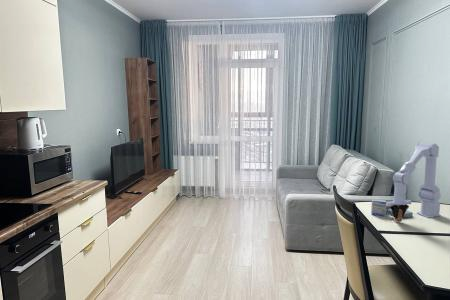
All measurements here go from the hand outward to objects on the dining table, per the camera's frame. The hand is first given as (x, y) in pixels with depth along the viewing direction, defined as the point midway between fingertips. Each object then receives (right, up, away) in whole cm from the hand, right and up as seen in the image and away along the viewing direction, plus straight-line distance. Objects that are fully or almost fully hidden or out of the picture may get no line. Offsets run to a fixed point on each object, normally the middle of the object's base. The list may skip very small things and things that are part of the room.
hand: (398, 217), depth 178 cm
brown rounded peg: (0, -2, 0) cm, 2 cm away
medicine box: (-5, -1, +14) cm, 14 cm away
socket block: (+7, -1, +13) cm, 14 cm away
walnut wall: (+5, 0, +18) cm, 19 cm away
